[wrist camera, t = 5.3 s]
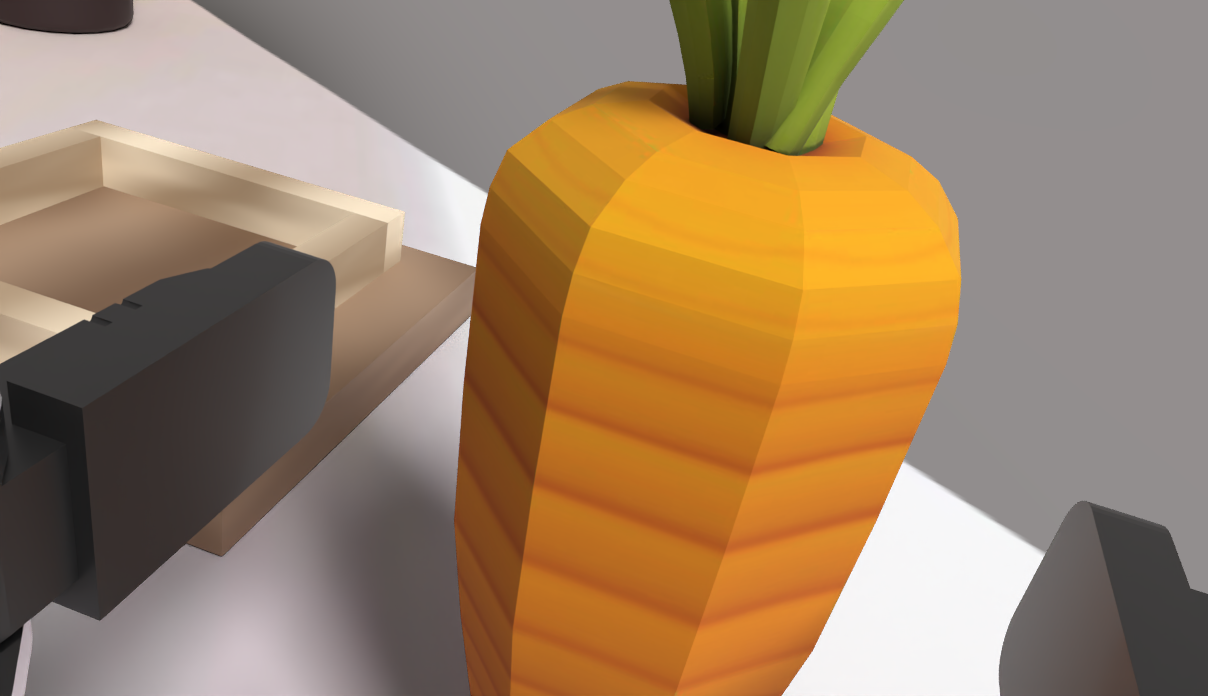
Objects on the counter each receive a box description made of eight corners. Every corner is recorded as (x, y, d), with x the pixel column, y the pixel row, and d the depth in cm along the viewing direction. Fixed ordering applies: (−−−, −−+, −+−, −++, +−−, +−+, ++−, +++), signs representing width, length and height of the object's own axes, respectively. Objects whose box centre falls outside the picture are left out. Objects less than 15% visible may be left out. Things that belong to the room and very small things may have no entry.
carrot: (578, 1125, 12) (1128, -418, 5) (324, 843, 14) (426, -450, 7) (784, 858, 15) (1270, -238, 8) (553, 669, 18) (774, -301, 11)
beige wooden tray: (-350, 341, 21) (-391, 212, 20) (71, 188, 31) (64, 96, 30) (222, 556, 19) (221, 427, 17) (472, 313, 29) (485, 220, 28)
